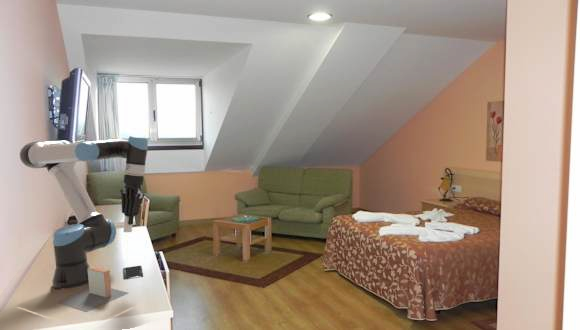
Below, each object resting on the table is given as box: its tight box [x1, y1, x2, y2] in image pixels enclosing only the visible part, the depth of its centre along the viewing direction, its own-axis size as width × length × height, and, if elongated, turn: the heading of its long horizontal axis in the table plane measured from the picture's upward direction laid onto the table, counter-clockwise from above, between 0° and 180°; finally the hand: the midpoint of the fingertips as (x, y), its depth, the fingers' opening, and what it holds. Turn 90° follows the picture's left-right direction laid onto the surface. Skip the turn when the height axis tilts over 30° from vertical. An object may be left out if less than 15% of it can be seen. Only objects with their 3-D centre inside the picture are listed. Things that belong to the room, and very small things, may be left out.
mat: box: [55, 287, 129, 313], centre depth 160 cm, size 18×18×1 cm
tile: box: [87, 266, 112, 298], centre depth 162 cm, size 10×2×10 cm, turn 60°
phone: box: [122, 265, 144, 280], centre depth 185 cm, size 8×1×15 cm
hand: (127, 231), depth 173 cm, fingers closed
